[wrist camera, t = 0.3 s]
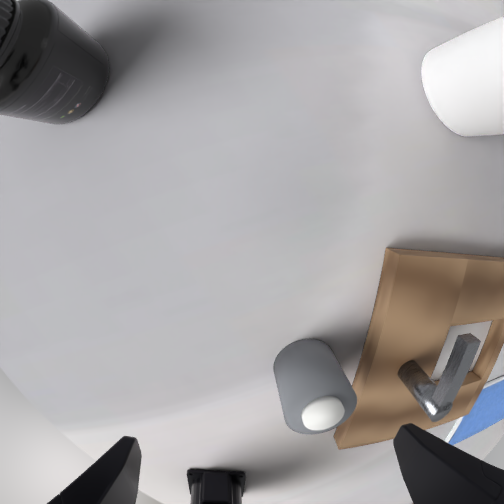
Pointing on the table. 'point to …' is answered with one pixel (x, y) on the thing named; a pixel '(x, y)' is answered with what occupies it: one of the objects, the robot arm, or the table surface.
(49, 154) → the table surface
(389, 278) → the base board
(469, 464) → the robot arm
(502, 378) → the tablet computer
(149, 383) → the table surface
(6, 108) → the supplement bottle
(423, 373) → the hook post
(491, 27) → the beverage can
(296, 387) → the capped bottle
